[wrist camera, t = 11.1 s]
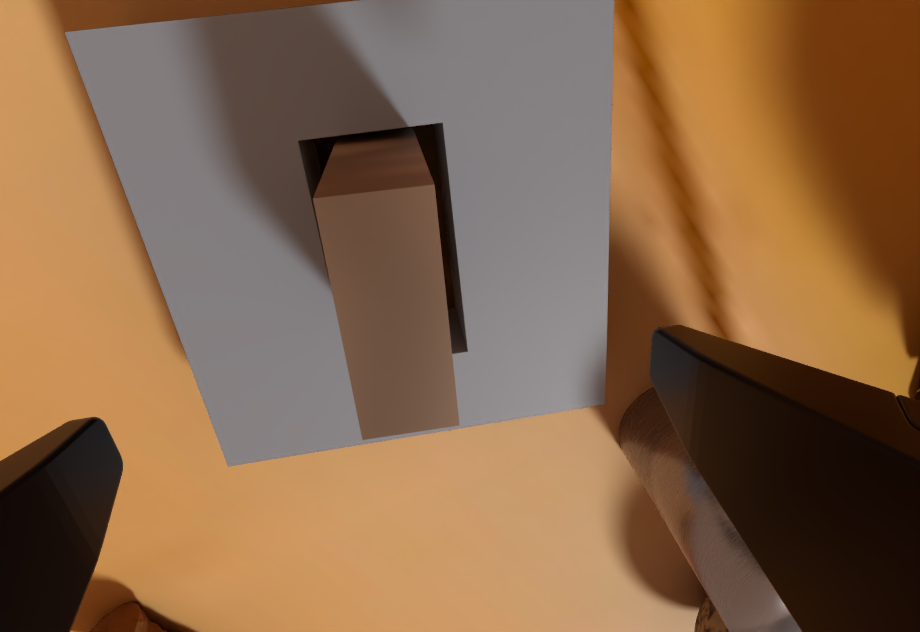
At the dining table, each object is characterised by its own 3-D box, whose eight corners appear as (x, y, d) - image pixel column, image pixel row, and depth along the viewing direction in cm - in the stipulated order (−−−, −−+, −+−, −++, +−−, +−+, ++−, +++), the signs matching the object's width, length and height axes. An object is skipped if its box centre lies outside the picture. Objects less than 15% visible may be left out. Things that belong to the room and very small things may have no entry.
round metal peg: (730, 370, 22) (898, 528, 15) (718, 458, 24) (860, 634, 17) (620, 388, 22) (737, 559, 15) (617, 476, 24) (718, 662, 17)
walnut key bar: (410, 120, 16) (434, 184, 9) (428, 277, 19) (459, 425, 12) (341, 127, 16) (312, 198, 9) (368, 285, 19) (362, 439, 11)
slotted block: (573, -17, 15) (614, -28, 13) (576, 357, 21) (605, 404, 18) (121, 32, 15) (64, 32, 12) (248, 409, 20) (228, 466, 17)
